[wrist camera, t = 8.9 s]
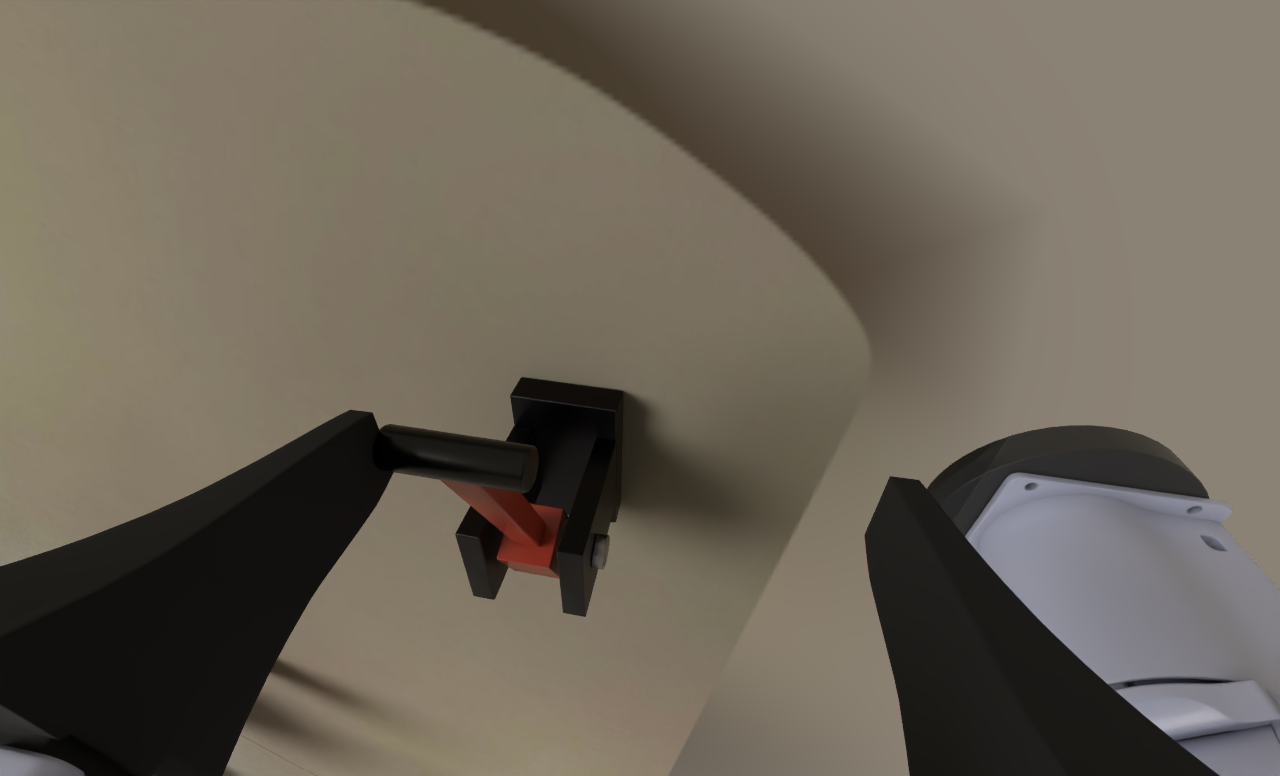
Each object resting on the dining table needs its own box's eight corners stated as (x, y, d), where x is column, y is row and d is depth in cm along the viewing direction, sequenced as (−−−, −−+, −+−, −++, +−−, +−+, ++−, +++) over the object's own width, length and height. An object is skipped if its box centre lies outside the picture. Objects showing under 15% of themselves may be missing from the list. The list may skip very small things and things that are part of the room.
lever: (391, 395, 13) (351, 483, 12) (539, 416, 13) (512, 509, 12) (509, 514, 24) (494, 566, 23) (593, 527, 23) (581, 582, 22)
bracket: (510, 374, 24) (431, 501, 18) (634, 391, 24) (594, 528, 18) (527, 486, 29) (468, 616, 23) (629, 503, 29) (597, 640, 23)
